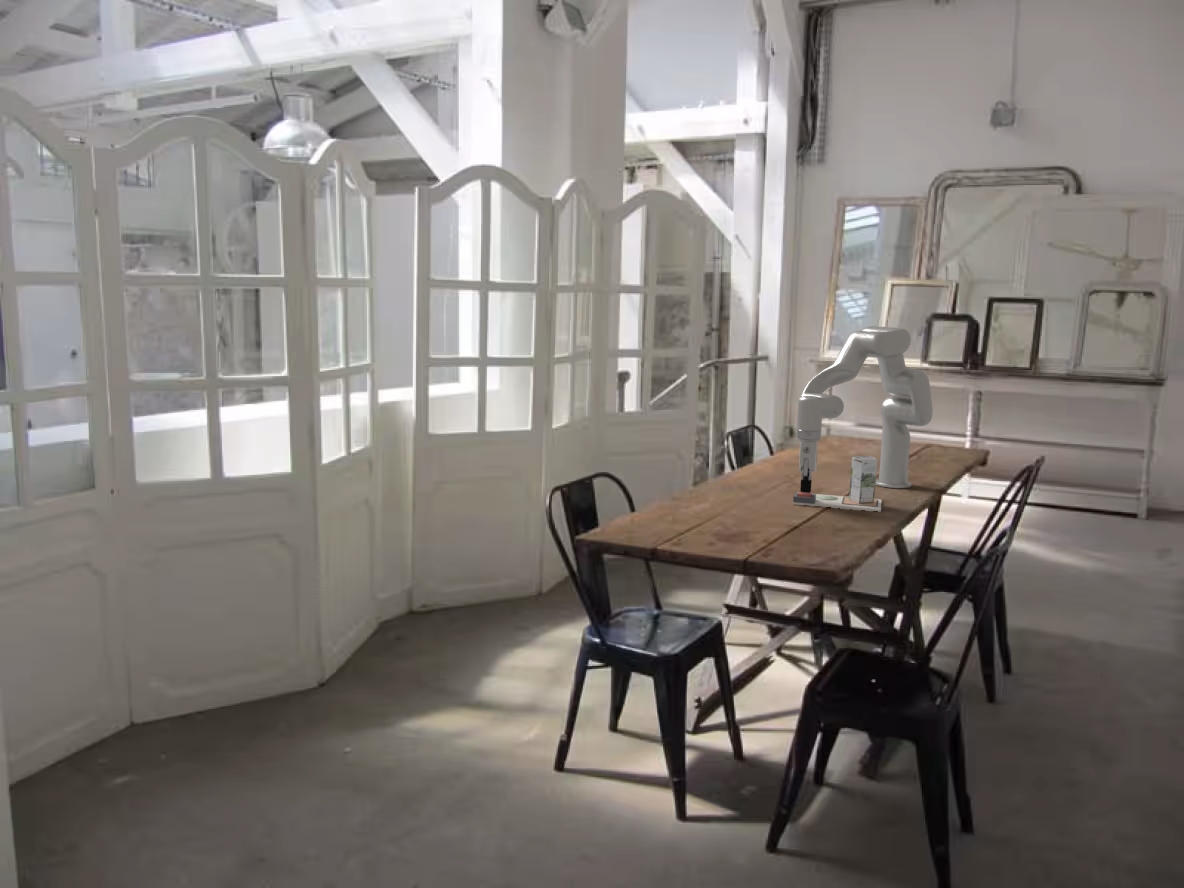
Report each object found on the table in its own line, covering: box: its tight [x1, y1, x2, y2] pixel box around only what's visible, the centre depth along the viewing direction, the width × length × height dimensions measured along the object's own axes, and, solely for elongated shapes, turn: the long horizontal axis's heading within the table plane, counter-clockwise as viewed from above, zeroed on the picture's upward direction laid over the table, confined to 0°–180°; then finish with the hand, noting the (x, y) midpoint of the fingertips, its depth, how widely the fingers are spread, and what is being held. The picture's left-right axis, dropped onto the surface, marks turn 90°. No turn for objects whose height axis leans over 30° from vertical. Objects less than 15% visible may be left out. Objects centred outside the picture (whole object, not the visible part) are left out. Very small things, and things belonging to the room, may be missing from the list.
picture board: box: [791, 492, 882, 513], centre depth 314 cm, size 16×27×3 cm, turn 73°
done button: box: [797, 491, 813, 497], centre depth 313 cm, size 4×4×2 cm
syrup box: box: [848, 455, 878, 503], centre depth 312 cm, size 6×6×14 cm
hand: (805, 491), depth 313 cm, fingers closed
